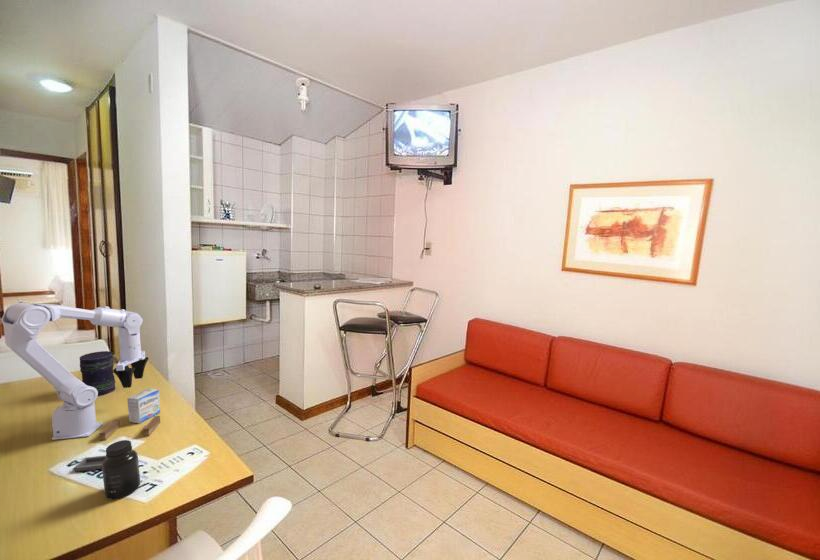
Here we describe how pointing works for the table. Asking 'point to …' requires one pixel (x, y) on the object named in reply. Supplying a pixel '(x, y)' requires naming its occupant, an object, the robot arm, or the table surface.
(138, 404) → the medicine box
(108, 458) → the supplement bottle
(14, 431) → the table surface
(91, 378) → the storage jar
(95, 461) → the dark grey flat tray
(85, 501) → the table surface
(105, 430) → the lane wall left
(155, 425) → the lane wall right
